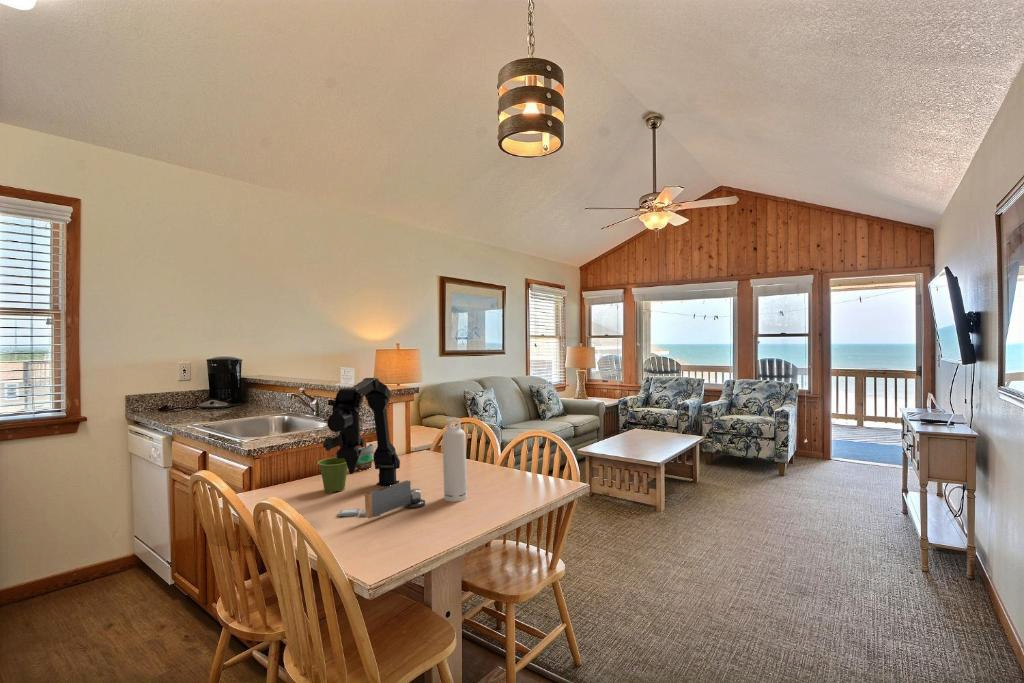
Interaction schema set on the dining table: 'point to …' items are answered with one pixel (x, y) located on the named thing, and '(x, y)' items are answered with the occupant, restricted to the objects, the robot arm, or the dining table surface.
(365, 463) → the food container
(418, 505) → the pivot base
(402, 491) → the swing bar
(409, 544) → the dining table surface
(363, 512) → the label plaque
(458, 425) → the bottle
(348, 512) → the label plaque
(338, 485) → the plant pot
